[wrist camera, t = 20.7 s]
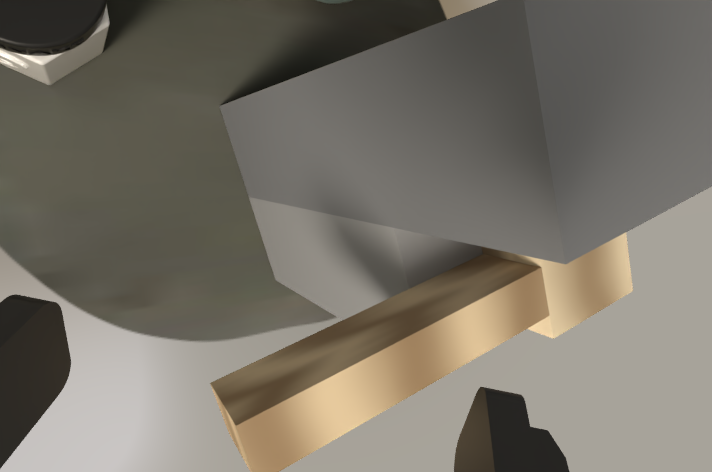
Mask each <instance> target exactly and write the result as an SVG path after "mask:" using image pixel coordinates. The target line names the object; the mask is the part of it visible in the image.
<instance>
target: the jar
mask: <svg viewBox="0 0 712 472" xmlns="http://www.w3.org/2000/svg"><path fill="white" fill-rule="evenodd" d="M109 25H110V21H109V15H108V9H107V0H0V64H2V65H5V66H7V67H9V68H11V69H14V70H16V71H18V72H20V73H23V74H25V75H27V76H29V77H31V78H34V79H36V80H38V81H40V82H43V83H45V84H47V85H51V84H53V83H55V82H56V81H58V80H59V79H61V78H63V77H64V76H66V75H67V74H69V73H71V72H72V71H74V70H76V69H77V68H79V67H80V66H82V65H84V64H85V63H87V62H88V61H90V60H92V59H93V58H95V57H97V56H98V55H100V54H101V53H102V52H103V49H104V45H105V41H106V37H107V33H108V29H109Z"/></svg>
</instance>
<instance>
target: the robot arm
mask: <svg viewBox="0 0 712 472" xmlns="http://www.w3.org/2000/svg"><path fill="white" fill-rule="evenodd" d="M70 367H71V359H70V353H69V348H68V342H67V337H66V331H65V327H64V321H63V315H62V311H61V308H60V306H59V305H58V304H57V303H56V302H50V301H46V300H41V299H36V298H30V297H26V296H21V295H11V296H9V297H7V298H6V299H4V300H3V301H2V302H1V303H0V468H1V467H2V466H3V464H4V463H5V462H6V461H7V459H8V458H9V457H10V456H11V454H12V453H13V452H14V451H15V449H16V448H17V447H18V446H19V444H20V443H21V442H22V440H23V439H24V438H25V437H26V435H27V434H28V433H29V432H30V430H31V429H32V428H33V427H34V425H35V424H36V423H37V422H38V420H39V419H40V418H41V416H42V415H43V414H44V413H45V411H46V410H47V409H48V407H49V406H50V405H51V404H52V402H53V401H54V400H55V399H56V398H57V396H58V395H59V393H60V392H61V391H62V389H63V388H64V385H65V383H66V381H67V379H68V376H69V372H70ZM454 472H569V469H568V465H567V461H566V458H565V456H564V455H563V453H562V452H561V450H560V448H559V447H558V445H557V444H556V442H555V441H554V439H553V438H552V436H551V435H550V433H549V432H548V431H547V430H543V429H538V428H533V427H530V424H529V419H528V414H527V409H526V404H525V401H524V398H523V397H522V395H519V394H514V393H509V392H504V391H499V390H494V389H489V388H484V387H480V388H479V390H478V391H477V393H476V396H475V399H474V401H473V404H472V406H471V409H470V411H469V414H468V416H467V419H466V421H465V424H464V427H463V429H462V432H461V434H460V437H459V440H458V443H457V448H456V454H455V464H454Z"/></svg>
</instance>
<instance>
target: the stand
mask: <svg viewBox="0 0 712 472" xmlns="http://www.w3.org/2000/svg"><path fill="white" fill-rule="evenodd" d="M219 107H220V110H221V113H222V116H223V119H224V122H225V125H226V128H227V131H228V134H229V138H230V141H231V144H232V147H233V150H234V153H235V156H236V159H237V162H238V165H239V168H240V171H241V175H242V178H243V181H244V184H245V187H246V190H247V193H248V196H249V199H250V202H251V205H252V209H253V212H254V215H255V218H256V221H257V224H258V227H259V230H260V233H261V236H262V239H263V242H264V246H265V249H266V252H267V255H268V258H269V261H270V264H271V267H272V270H273V273H274V276H275V280H276V281H278V282H280V283H281V284H283V285H285V286H286V287H288V288H290V289H291V290H293V291H295V292H296V293H298V294H300V295H301V296H303V297H305V298H306V299H308V300H310V301H312V302H313V303H315V304H317V305H318V306H320V307H322V308H323V309H325V310H327V311H328V312H330V313H332V314H333V315H335V316H337V317H338V318H340V319H342V320H344V319H347V318H349V317H351V316H353V315H355V314H357V313H359V312H361V311H363V310H366V309H368V308H370V307H372V306H374V305H376V304H378V303H380V302H382V301H385V300H387V299H389V298H391V297H393V296H395V295H397V294H399V293H401V292H404V291H406V290H408V289H410V288H412V287H414V286H416V285H418V284H420V283H423V282H425V281H427V280H429V279H431V278H433V277H435V276H437V275H439V274H442V273H444V272H446V271H448V270H450V269H452V268H454V267H456V266H458V265H461V264H463V263H465V262H467V261H469V260H471V259H473V258H475V257H477V256H480V255H482V254H483V252H482V247H486V248H491V249H496V250H500V251H505V252H510V253H514V254H519V255H524V256H528V257H533V258H538V259H543V260H547V261H552V262H557V263H561V264H568V263H570V262H571V261H573V260H575V259H577V258H579V257H581V256H583V255H584V254H586V253H588V252H590V251H592V250H594V249H596V248H597V247H599V246H601V245H603V244H605V243H607V242H609V241H611V240H612V239H614V238H616V237H618V236H620V235H622V234H624V233H625V232H627V231H629V230H631V229H633V228H635V227H637V226H639V225H640V224H642V223H644V222H646V221H648V220H649V219H652V218H653V217H655V216H657V215H659V214H661V213H663V212H665V211H667V210H668V209H670V208H672V207H674V206H676V205H678V204H680V203H681V202H683V201H685V200H687V199H689V198H691V197H693V196H695V195H696V194H698V193H700V192H702V191H704V190H706V189H708V188H709V187H711V186H712V0H498V1H495V2H493V3H490V4H487V5H485V6H482V7H479V8H477V9H474V10H471V11H469V12H466V13H463V14H461V15H458V16H456V17H453V18H450V19H448V20H445V21H442V22H440V23H437V24H434V25H432V26H429V27H427V28H424V29H421V30H419V31H416V32H413V33H411V34H408V35H405V36H403V37H400V38H398V39H395V40H392V41H390V42H387V43H384V44H382V45H379V46H376V47H374V48H371V49H369V50H366V51H363V52H361V53H358V54H355V55H353V56H350V57H347V58H345V59H342V60H339V61H337V62H334V63H332V64H329V65H326V66H324V67H321V68H318V69H316V70H313V71H310V72H308V73H305V74H303V75H300V76H297V77H295V78H292V79H289V80H287V81H284V82H281V83H279V84H276V85H274V86H271V87H268V88H266V89H263V90H260V91H258V92H255V93H252V94H250V95H247V96H245V97H242V98H239V99H237V100H234V101H231V102H229V103H226V104H223V105H221V106H219Z"/></svg>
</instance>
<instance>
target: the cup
mask: <svg viewBox="0 0 712 472" xmlns="http://www.w3.org/2000/svg"><path fill="white" fill-rule="evenodd" d="M316 1H318V2H322V3H327V4H343V3H347V2H351V1H354V0H316Z"/></svg>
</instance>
